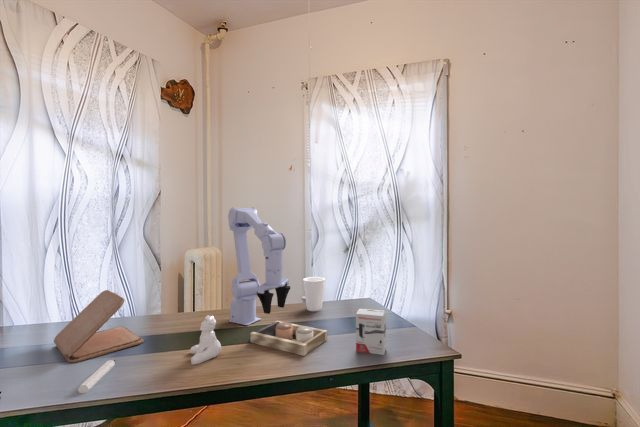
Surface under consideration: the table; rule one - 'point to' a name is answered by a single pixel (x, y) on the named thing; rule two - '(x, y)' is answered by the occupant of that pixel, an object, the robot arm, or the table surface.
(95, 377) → the marker
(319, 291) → the foam cup
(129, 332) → the case
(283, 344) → the beige flat open box
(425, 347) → the table surface
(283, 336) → the terracotta jar
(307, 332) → the cream jar
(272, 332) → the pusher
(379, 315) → the ink box
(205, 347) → the sitting furry creature
